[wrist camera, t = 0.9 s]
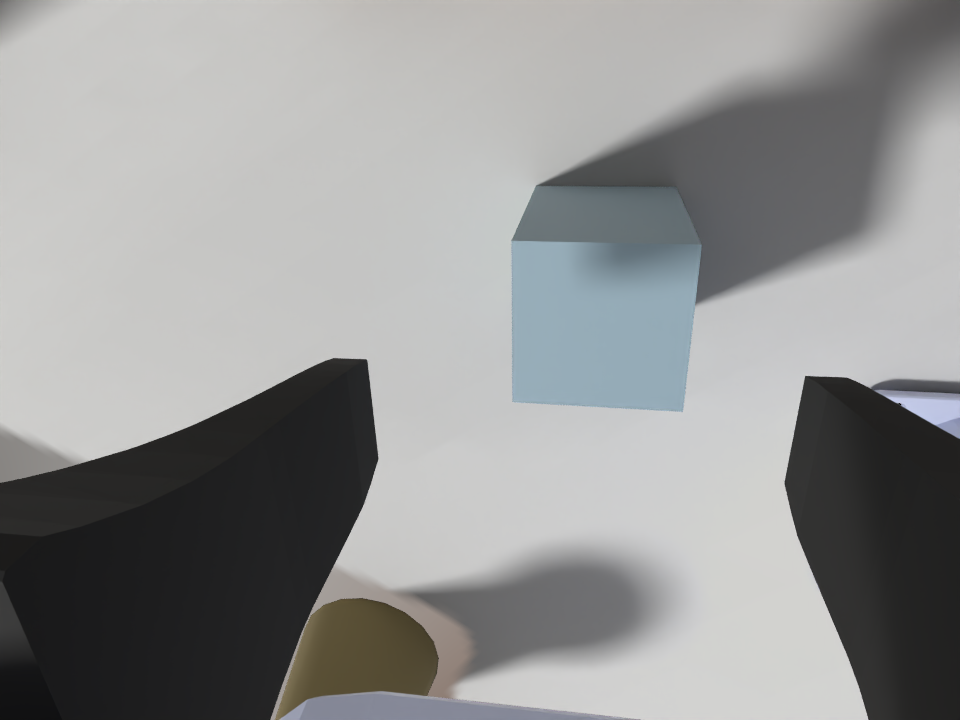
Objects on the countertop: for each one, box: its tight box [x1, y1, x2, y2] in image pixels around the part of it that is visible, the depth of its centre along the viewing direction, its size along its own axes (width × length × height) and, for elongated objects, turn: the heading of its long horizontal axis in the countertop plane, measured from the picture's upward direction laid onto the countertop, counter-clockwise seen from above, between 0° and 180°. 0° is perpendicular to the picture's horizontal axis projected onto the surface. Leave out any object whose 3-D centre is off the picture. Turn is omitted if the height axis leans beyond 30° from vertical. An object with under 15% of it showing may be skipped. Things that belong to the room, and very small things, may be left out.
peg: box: [512, 186, 702, 412], centre depth 18 cm, size 4×4×6 cm
